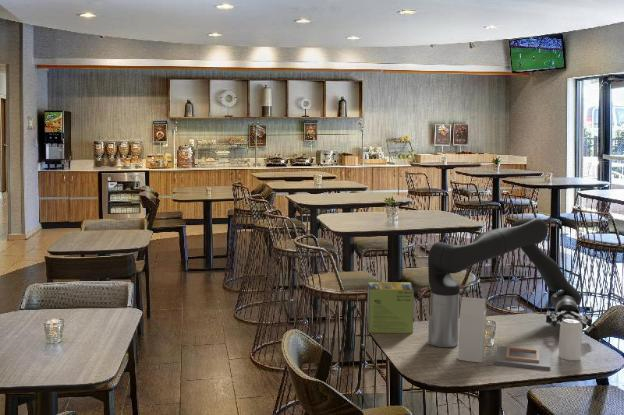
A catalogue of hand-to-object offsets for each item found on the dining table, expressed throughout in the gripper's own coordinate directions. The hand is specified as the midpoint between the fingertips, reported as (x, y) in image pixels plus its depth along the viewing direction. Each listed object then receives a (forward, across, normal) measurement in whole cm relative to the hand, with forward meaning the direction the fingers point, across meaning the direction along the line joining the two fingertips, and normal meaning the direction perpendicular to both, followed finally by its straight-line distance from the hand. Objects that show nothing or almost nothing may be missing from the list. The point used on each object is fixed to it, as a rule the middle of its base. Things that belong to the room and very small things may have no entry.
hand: (569, 325), depth 225 cm
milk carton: (+22, -29, +7) cm, 37 cm away
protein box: (+1, -59, +7) cm, 59 cm away
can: (+12, 0, +7) cm, 14 cm away
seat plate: (+18, -14, +7) cm, 24 cm away
